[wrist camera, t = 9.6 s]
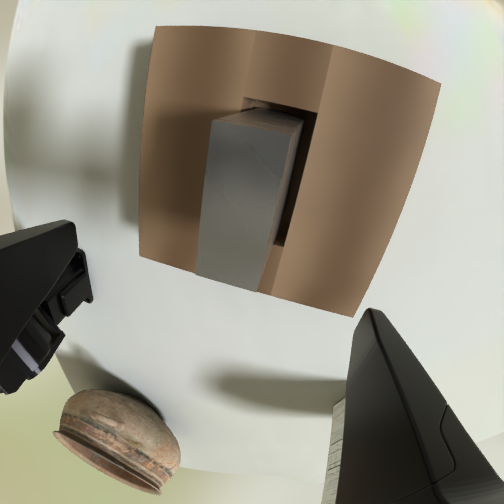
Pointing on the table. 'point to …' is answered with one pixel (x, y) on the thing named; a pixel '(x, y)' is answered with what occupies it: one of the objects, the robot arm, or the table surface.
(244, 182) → the upright grey stone slab
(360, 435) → the robot arm
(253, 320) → the table surface
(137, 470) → the cooking pot
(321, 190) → the post block
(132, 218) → the table surface
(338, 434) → the syrup box
